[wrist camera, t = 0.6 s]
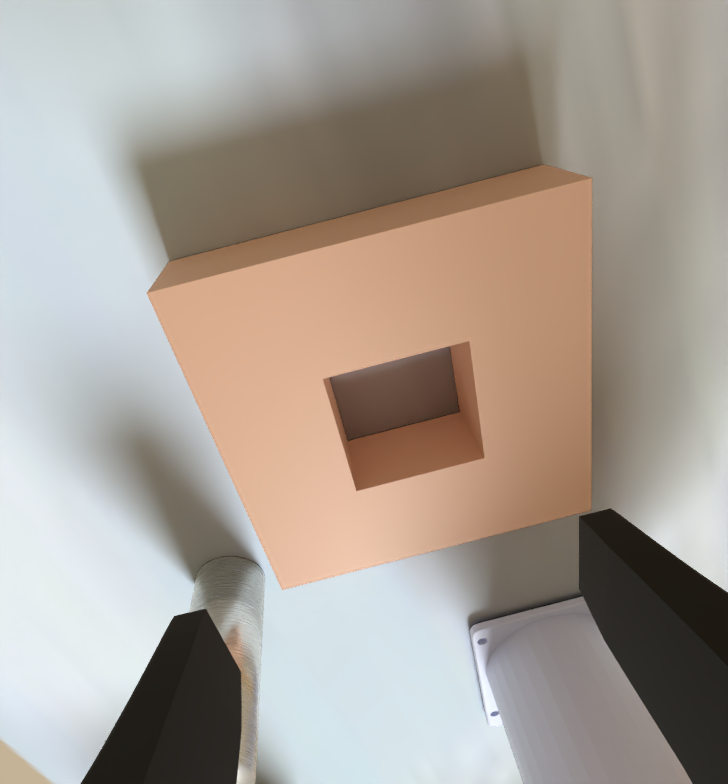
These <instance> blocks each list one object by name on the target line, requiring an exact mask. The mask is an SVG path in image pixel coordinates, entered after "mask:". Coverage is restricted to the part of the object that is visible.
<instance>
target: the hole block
mask: <svg viewBox="0 0 728 784" xmlns="http://www.w3.org/2000/svg"><path fill="white" fill-rule="evenodd" d="M147 295H148V297H149V299H150V301H151V303H152V306H153V308H154V310H155V312H156V314H157V317H158V319H159V321H160V323H161V325H162V328H163V330H164V332H165V334H166V336H167V339H168V341H169V343H170V345H171V347H172V350H173V352H174V354H175V356H176V358H177V360H178V363H179V365H180V367H181V369H182V371H183V374H184V376H185V378H186V380H187V382H188V385H189V387H190V389H191V391H192V393H193V396H194V398H195V400H196V402H197V404H198V406H199V409H200V411H201V413H202V415H203V417H204V420H205V422H206V424H207V426H208V428H209V431H210V433H211V435H212V437H213V439H214V442H215V444H216V446H217V448H218V450H219V452H220V455H221V457H222V459H223V461H224V463H225V466H226V468H227V470H228V472H229V474H230V477H231V479H232V481H233V483H234V485H235V488H236V490H237V492H238V494H239V496H240V499H241V501H242V503H243V505H244V507H245V509H246V512H247V514H248V516H249V518H250V520H251V523H252V525H253V527H254V529H255V531H256V534H257V536H258V538H259V540H260V542H261V545H262V547H263V549H264V551H265V553H266V555H267V558H268V560H269V562H270V564H271V566H272V569H273V571H274V573H275V575H276V577H277V580H278V582H279V584H280V586H281V588H282V590H284V589H288V588H292V587H296V586H300V585H304V584H307V583H311V582H315V581H319V580H323V579H327V578H331V577H335V576H338V575H342V574H346V573H350V572H354V571H358V570H362V569H366V568H369V567H373V566H377V565H381V564H385V563H389V562H393V561H397V560H401V559H404V558H408V557H412V556H416V555H420V554H424V553H428V552H432V551H435V550H439V549H443V548H447V547H451V546H455V545H459V544H463V543H466V542H470V541H474V540H478V539H482V538H486V537H490V536H494V535H497V534H501V533H505V532H509V531H513V530H517V529H521V528H525V527H528V526H532V525H536V524H540V523H544V522H548V521H552V520H556V519H560V518H563V517H567V516H571V515H575V514H579V513H583V512H587V511H591V470H592V178H591V177H587V176H583V175H580V174H576V173H573V172H569V171H565V170H562V169H558V168H555V167H551V166H547V165H540V166H536V167H532V168H528V169H524V170H521V171H517V172H513V173H509V174H505V175H501V176H497V177H494V178H490V179H486V180H482V181H478V182H474V183H470V184H466V185H463V186H459V187H455V188H451V189H447V190H443V191H439V192H436V193H432V194H428V195H424V196H420V197H416V198H412V199H408V200H405V201H401V202H397V203H393V204H389V205H385V206H381V207H378V208H374V209H370V210H366V211H362V212H358V213H354V214H350V215H347V216H343V217H339V218H335V219H331V220H327V221H323V222H320V223H316V224H312V225H308V226H304V227H300V228H296V229H292V230H289V231H285V232H281V233H277V234H273V235H269V236H265V237H262V238H258V239H254V240H250V241H246V242H242V243H238V244H235V245H231V246H227V247H223V248H219V249H215V250H211V251H207V252H204V253H200V254H196V255H192V256H188V257H184V258H180V259H177V260H173V261H169V262H168V264H167V265H166V266H165V268H164V269H163V271H162V272H161V274H160V275H159V276H158V278H157V279H156V281H155V282H154V284H153V285H152V286H151V288H150V289H149V291H148V292H147ZM448 346H450V351H451V358H452V364H453V371H454V377H455V384H456V390H457V397H458V404H459V410H460V412H458V413H454V414H450V415H447V416H443V417H439V418H435V419H431V420H427V421H423V422H419V423H416V424H412V425H408V426H404V427H400V428H396V429H392V430H388V431H385V432H381V433H377V434H373V435H369V436H365V437H361V438H357V439H354V440H350V441H348V440H347V437H346V433H345V430H344V426H343V423H342V420H341V416H340V413H339V409H338V406H337V403H336V399H335V396H334V392H333V389H332V386H331V382H330V379H329V377H332V376H336V375H340V374H344V373H348V372H352V371H356V370H359V369H363V368H367V367H371V366H375V365H379V364H383V363H386V362H390V361H394V360H398V359H402V358H406V357H410V356H414V355H417V354H421V353H425V352H429V351H433V350H437V349H441V348H445V347H448Z"/></svg>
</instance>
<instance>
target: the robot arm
mask: <svg viewBox="0 0 728 784" xmlns="http://www.w3.org/2000/svg"><path fill="white" fill-rule="evenodd" d="M579 589H580V591H581V593H582V595H583V596H582V597H578V598H574V599H570V600H567V601H563V602H559V603H555V604H551V605H547V606H543V607H539V608H536V609H532V610H528V611H524V612H520V613H516V614H512V615H508V616H504V617H501V618H497V619H493V620H489V621H485V622H481V623H478V624H475V625H474V626H472V627H471V629H470V636H471V641H472V646H473V652H474V657H475V662H476V667H477V673H478V678H479V683H480V688H481V694H482V699H483V704H484V710H485V715H486V720H487V723H488V725H489V726H491V727H498V726H502V725H504V728H505V731H506V734H507V737H508V740H509V743H510V746H511V749H512V752H513V755H514V758H515V761H516V764H517V766H518V769H519V772H520V775H521V778H522V781H523V784H728V593H727V592H726V591H725V590H723V589H722V588H720V587H719V586H717V585H716V584H714V583H713V582H711V581H710V580H709V579H707V578H706V577H704V576H703V575H701V574H700V573H698V572H697V571H696V570H694V569H693V568H691V567H690V566H689V565H687V564H686V563H684V562H683V561H682V560H680V559H679V558H677V557H676V556H675V555H673V554H672V553H671V552H669V551H668V550H667V549H665V548H664V547H662V546H661V545H660V544H658V543H657V542H656V541H654V540H653V539H652V538H650V537H649V536H648V535H646V534H645V533H644V532H642V531H641V530H640V529H638V528H637V527H636V526H634V525H633V524H632V523H630V522H629V521H628V520H626V519H625V518H624V517H622V516H621V515H620V514H618V513H617V512H615V511H614V510H612V509H607V510H603V511H599V512H595V513H591V514H587V515H583V516H579ZM241 731H242V693H241V671H240V669H239V667H238V665H237V663H236V662H235V660H234V658H233V656H232V654H231V653H230V651H229V649H228V647H227V646H226V644H225V642H224V640H223V638H222V637H221V635H220V633H219V631H218V629H217V628H216V626H215V624H214V622H213V620H212V619H211V617H210V615H209V613H208V611H207V610H206V609H202V610H198V611H193V612H189V613H185V614H181V615H177V616H174V618H173V619H172V621H171V622H170V624H169V626H168V628H167V630H166V631H165V633H164V635H163V637H162V639H161V641H160V643H159V645H158V647H157V648H156V650H155V652H154V654H153V656H152V658H151V660H150V662H149V664H148V666H147V667H146V669H145V671H144V673H143V675H142V677H141V679H140V681H139V682H138V684H137V686H136V688H135V690H134V692H133V694H132V695H131V697H130V699H129V701H128V703H127V705H126V706H125V708H124V710H123V712H122V713H121V715H120V717H119V719H118V721H117V722H116V724H115V726H114V728H113V729H112V731H111V733H110V735H109V737H108V738H107V740H106V742H105V744H104V746H103V747H102V749H101V751H100V752H99V754H98V756H97V758H96V759H95V761H94V763H93V764H92V766H91V768H90V769H89V771H88V773H87V774H86V776H85V778H84V779H83V781H82V782H81V784H236V783H237V773H238V763H239V753H240V743H241Z"/></svg>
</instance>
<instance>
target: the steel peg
mask: <svg viewBox="0 0 728 784" xmlns="http://www.w3.org/2000/svg"><path fill="white" fill-rule="evenodd" d="M264 591H265V575H264V572H263V571H262V569H261V568H260V567H259V566H258V565H257V564H256V563H254V562H253V561H251V560H248V559H246V558H242V557H236V556H227V557H220V558H217V559H214V560H211V561H209V562H208V563H206V564H205V565H203V566H202V567H201V568H200V570H199V571H198V573H197V576H196V580H195V586H194V591H193V596H192V601H191V607H190V612H193V611H198V610H202V609H206V610H207V611H208V613H209V615H210V617H211V619H212V620H213V622H214V624H215V626H216V628H217V629H218V631H219V633H220V635H221V637H222V638H223V640H224V642H225V644H226V646H227V647H228V649H229V651H230V653H231V654H232V656H233V658H234V660H235V662H236V663H237V665H238V667H239V669H240V671H241V693H242V731H241V743H240V753H239V763H238V773H237V783H236V784H255V782H256V763H257V742H258V720H259V699H260V677H261V656H262V634H263V613H264Z"/></svg>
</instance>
